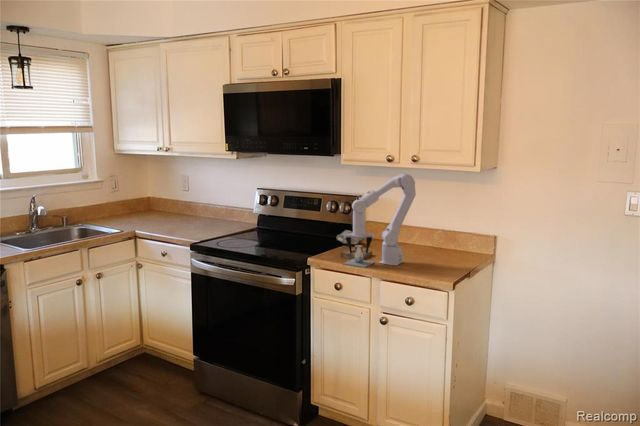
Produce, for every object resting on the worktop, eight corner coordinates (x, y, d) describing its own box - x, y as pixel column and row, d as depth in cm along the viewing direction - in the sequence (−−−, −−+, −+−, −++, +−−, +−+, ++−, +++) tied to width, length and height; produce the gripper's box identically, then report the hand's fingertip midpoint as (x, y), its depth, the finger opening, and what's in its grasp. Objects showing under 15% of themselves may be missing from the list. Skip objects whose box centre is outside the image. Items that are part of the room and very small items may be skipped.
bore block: (372, 255, 263) (372, 250, 263) (361, 260, 253) (361, 255, 253) (351, 252, 269) (351, 247, 269) (340, 257, 260) (340, 252, 259)
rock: (331, 239, 289) (337, 224, 292) (338, 248, 296) (345, 233, 299) (357, 244, 278) (364, 228, 281) (365, 252, 284) (371, 237, 288)
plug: (364, 261, 248) (364, 245, 247) (360, 263, 245) (360, 247, 243) (357, 260, 250) (357, 244, 249) (353, 262, 247) (353, 246, 245)
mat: (374, 262, 248) (374, 261, 248) (365, 267, 240) (365, 266, 240) (353, 259, 254) (353, 258, 254) (342, 264, 246) (342, 263, 246)
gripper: (373, 223, 247) (373, 250, 250) (343, 223, 248) (343, 250, 250) (374, 226, 240) (374, 254, 243) (343, 226, 241) (343, 254, 244)
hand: (358, 252), depth 246 cm, fingers open, 7 cm apart
